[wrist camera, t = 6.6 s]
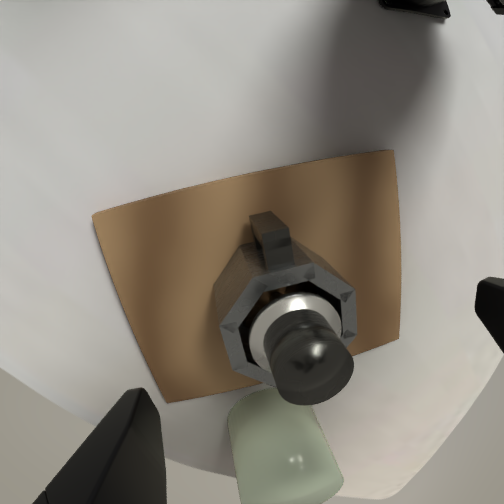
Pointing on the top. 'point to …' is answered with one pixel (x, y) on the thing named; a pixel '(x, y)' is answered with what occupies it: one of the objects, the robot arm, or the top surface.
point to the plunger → (301, 347)
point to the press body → (274, 288)
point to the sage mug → (280, 452)
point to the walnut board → (238, 233)
